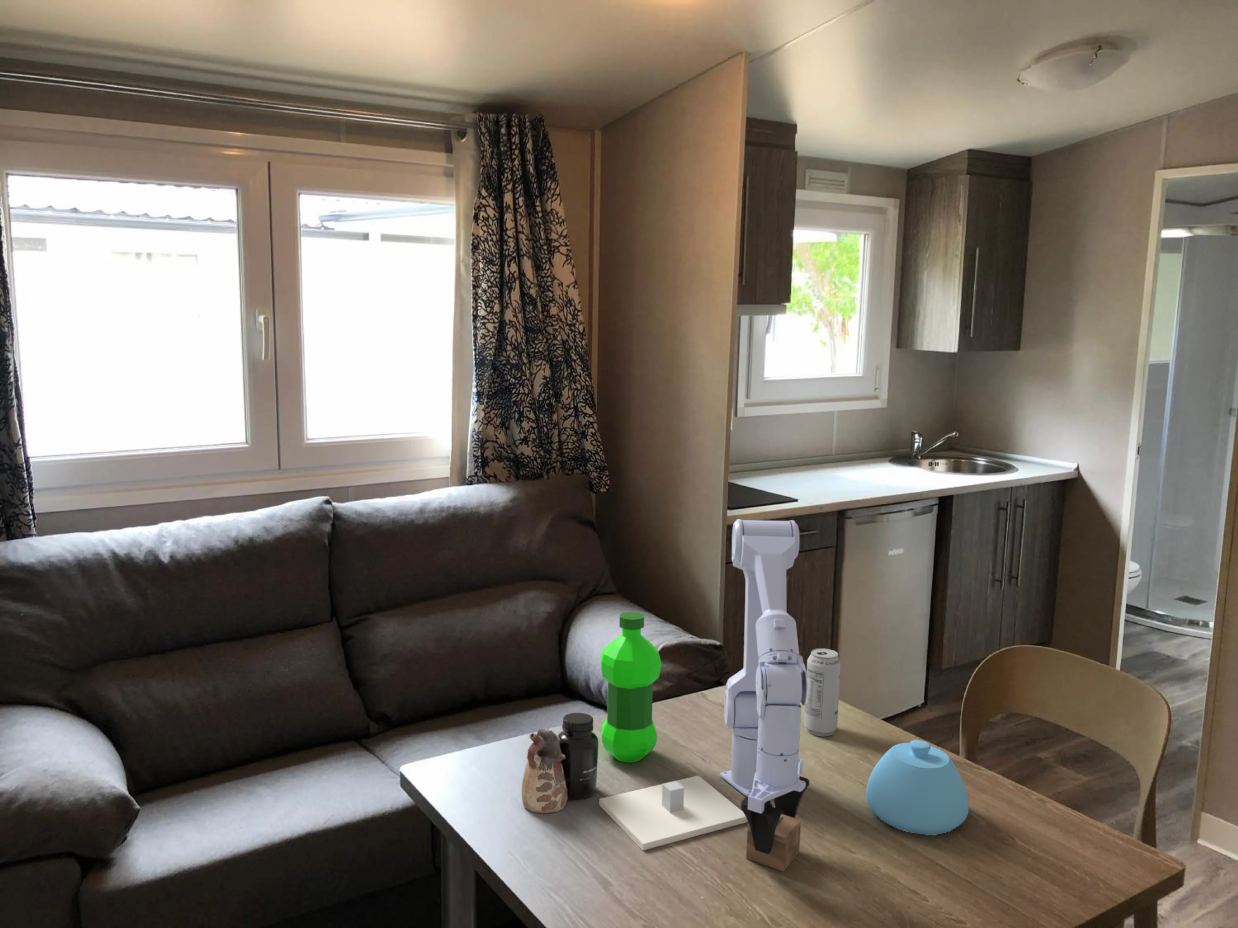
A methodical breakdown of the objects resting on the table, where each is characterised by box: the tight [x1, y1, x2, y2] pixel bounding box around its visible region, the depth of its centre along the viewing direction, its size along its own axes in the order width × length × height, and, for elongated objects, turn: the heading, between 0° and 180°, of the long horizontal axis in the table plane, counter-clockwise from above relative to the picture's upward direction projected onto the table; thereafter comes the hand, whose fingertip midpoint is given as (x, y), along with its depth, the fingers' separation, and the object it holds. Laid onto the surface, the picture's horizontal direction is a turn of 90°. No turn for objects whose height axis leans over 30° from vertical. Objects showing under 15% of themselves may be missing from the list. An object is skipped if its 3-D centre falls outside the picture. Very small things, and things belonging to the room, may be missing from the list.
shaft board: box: [598, 775, 748, 851], centre depth 142 cm, size 18×14×4 cm
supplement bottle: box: [557, 712, 599, 800], centre depth 148 cm, size 7×7×12 cm
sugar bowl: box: [865, 739, 970, 834], centre depth 143 cm, size 15×15×12 cm
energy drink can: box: [803, 648, 842, 737], centre depth 172 cm, size 6×6×15 cm
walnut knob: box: [745, 814, 802, 872], centre depth 131 cm, size 6×6×5 cm
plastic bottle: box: [600, 611, 662, 763], centre depth 160 cm, size 10×10×25 cm
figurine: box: [521, 727, 569, 814], centre depth 144 cm, size 7×7×12 cm
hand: (773, 838), depth 131 cm, fingers open, 7 cm apart
